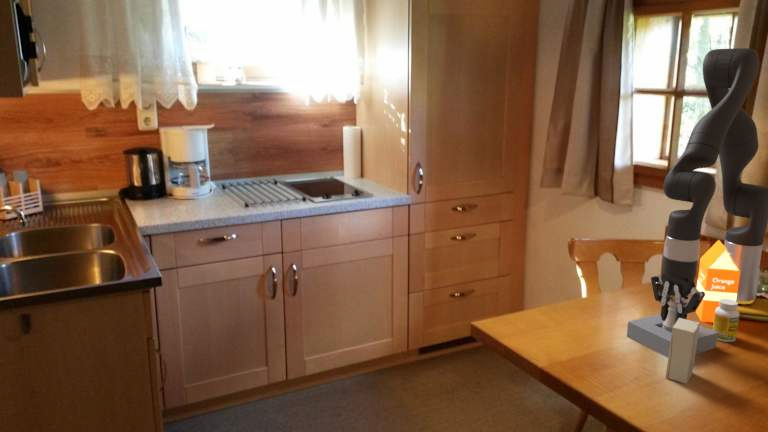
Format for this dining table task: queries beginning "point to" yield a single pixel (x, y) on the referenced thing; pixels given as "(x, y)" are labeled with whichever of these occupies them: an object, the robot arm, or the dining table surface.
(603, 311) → the dining table surface
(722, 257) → the orange juice
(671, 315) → the rook chess piece
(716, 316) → the supplement bottle
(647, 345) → the socket block
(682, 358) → the skincare box
